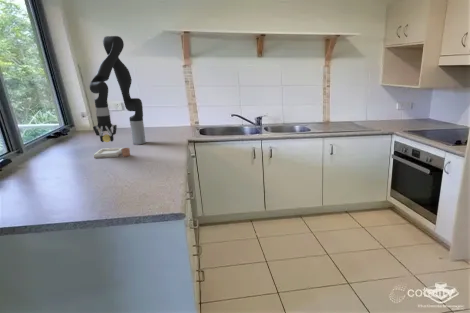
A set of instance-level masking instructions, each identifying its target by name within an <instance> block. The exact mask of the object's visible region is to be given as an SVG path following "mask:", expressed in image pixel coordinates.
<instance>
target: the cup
mask: <svg viewBox="0 0 470 313" xmlns="http://www.w3.org/2000/svg"><path fill="white" fill-rule="evenodd" d="M122 148H123V149H121V151H122V153H121V155H122V157H123V158H127V157H130V156H131V148H129V147H122Z"/></svg>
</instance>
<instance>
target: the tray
mask: <svg viewBox="0 0 470 313" xmlns="http://www.w3.org/2000/svg"><path fill="white" fill-rule="evenodd" d="M123 148H124V147H109V148H100V149H99V150H98V151H96V152H95V153H94V154H93V158H94V159H103V158H118V157H119V156H120V155H122V151H121V149H123Z"/></svg>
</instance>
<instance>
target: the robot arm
mask: <svg viewBox="0 0 470 313" xmlns="http://www.w3.org/2000/svg"><path fill="white" fill-rule="evenodd" d="M102 45H103V48H104V50H105V53H106V55H107V56H106V57H105V58H104V59H103V60H102V61H101V63H100V64H99V66H98V69H97V72H96V74H95V75H94V77H93V78H92V80H91V81H90V83H89V90H90V92H91V93H92V94H97V95H98V96H97V97H95V99H94V105H95V115H96V121H97V125H94V126H92V128H93V131H94V133H95V135H96V136H97V137H98V136H99V139H100V142H101V143H104V141H103V136H104V132H107V134H108V135H110V139H111V140H110V142H111V143H112V142H113V141H114V138H115V137H114V135H116V134H117V128H118V127H117V124H113V123H111V122H112V121H111V114H110V108H109V104H108V98H109V97H108V96H109V86H108V84H107V83H106V82H107V81H108V80H109V79H110V76H111V74H112V71H114V75H115V78H116V80H117V82H118V85H119V89H120V92H121V96H122V100H123V103H124V104H123V105H124V107H125V109H126V111H128V112H134V114H133V115H131V116H130V117H129V123H130V124H129V125H130V131H131V141H132V144H133V145H135V146H136V145H144V144H146V143H147V141H146V133H145V124H144V112H143V111H144V110H143V102H142V100H141V99H140V97H139V98H138V97H134V98H133V97H131V95H130V89H131V85H132V75H131V72H130V70H129V68H128V67H127V66H126V65H125V64H124V63H123V61H122V60H121V59H120V58H119V56H120V55H121V53H122V51H123V50H124V47H125V46H124V45H125V43H124V41H123V38H122V37H121V36H118V35H111V36H110V35H105V36H104V37H103V39H102ZM99 130H100V131H99ZM112 130H113V131H112Z"/></svg>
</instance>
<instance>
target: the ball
mask: <svg viewBox="0 0 470 313" xmlns="http://www.w3.org/2000/svg"><path fill="white" fill-rule="evenodd" d="M103 141H104V142H105V143H110V142H111V139H110V134H109V133H107V134H103ZM104 142H103V143H104Z"/></svg>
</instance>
